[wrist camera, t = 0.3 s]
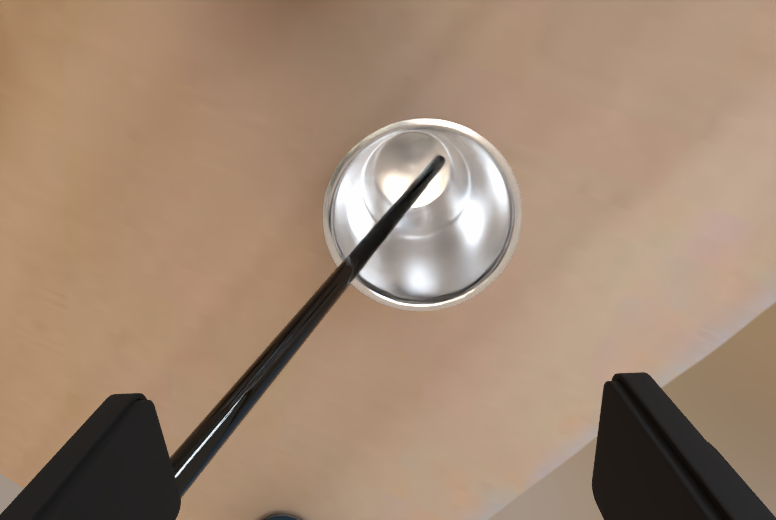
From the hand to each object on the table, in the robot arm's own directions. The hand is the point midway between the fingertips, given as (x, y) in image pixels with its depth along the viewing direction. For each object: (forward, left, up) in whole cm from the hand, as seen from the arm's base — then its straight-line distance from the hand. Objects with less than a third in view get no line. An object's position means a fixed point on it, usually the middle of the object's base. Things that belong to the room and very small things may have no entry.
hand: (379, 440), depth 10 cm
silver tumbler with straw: (-1, +1, -30) cm, 30 cm away
